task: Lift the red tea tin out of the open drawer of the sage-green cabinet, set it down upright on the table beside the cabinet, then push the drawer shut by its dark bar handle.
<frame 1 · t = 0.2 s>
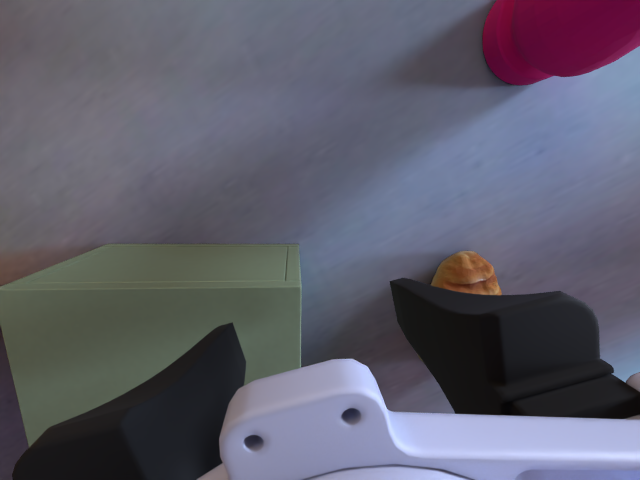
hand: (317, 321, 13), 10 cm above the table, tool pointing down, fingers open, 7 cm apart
pepper mill: (522, 37, 21), on the table
pastry: (449, 310, 25), on the table
cabinet: (211, 328, 24), on the table
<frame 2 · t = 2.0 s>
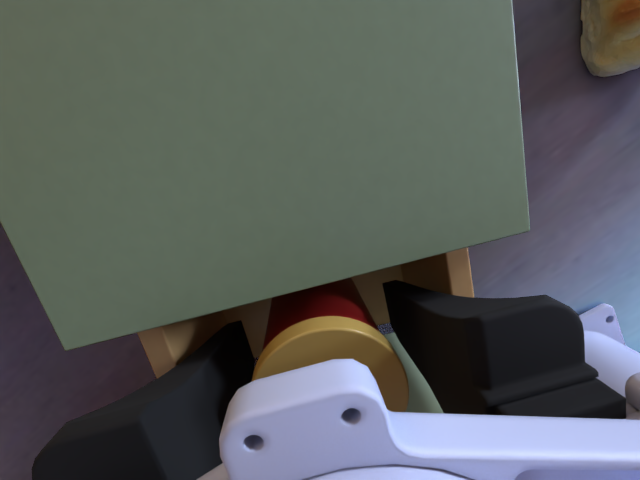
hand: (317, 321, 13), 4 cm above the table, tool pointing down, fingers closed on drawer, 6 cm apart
drawer: (321, 332, 14), point 4 cm above the table, slide at 7.0 cm, touching gripper, tea tin
cabinet: (264, 103, 15), on the table
tea tin: (315, 299, 16), point 2 cm above the table, touching drawer
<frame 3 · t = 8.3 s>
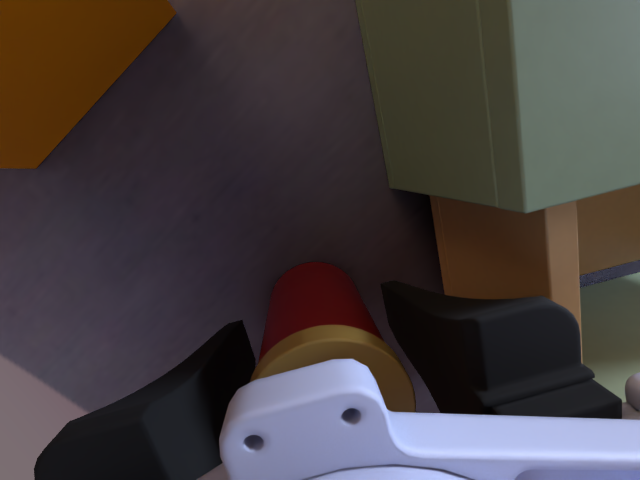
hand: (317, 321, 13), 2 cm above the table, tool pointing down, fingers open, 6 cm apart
drawer: (624, 255, 11), point 4 cm above the table, slide at 7.0 cm, touching gripper
orange juice: (24, 16, 12), on the table
tea tin: (314, 303, 15), on the table
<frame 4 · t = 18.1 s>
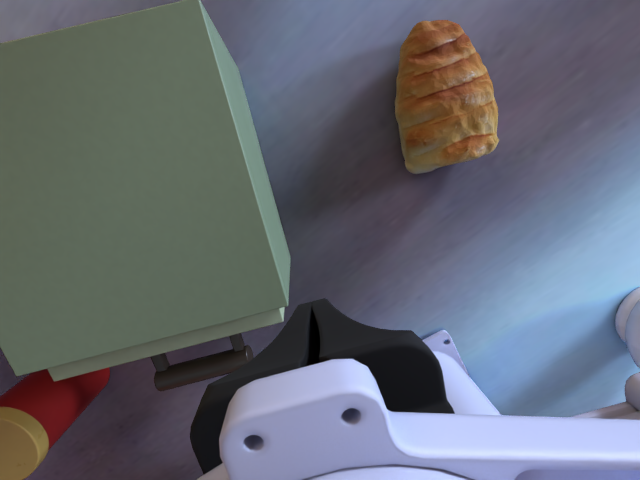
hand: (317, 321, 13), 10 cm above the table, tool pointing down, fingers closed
drawer: (167, 258, 18), point 4 cm above the table, slide at 0.0 cm, touching cabinet
pastry: (431, 113, 22), on the table
cabinet: (173, 193, 22), on the table
flower vase: (636, 310, 27), on the table
tea tin: (80, 370, 24), on the table
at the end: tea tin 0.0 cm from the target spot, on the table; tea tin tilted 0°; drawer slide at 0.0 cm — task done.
